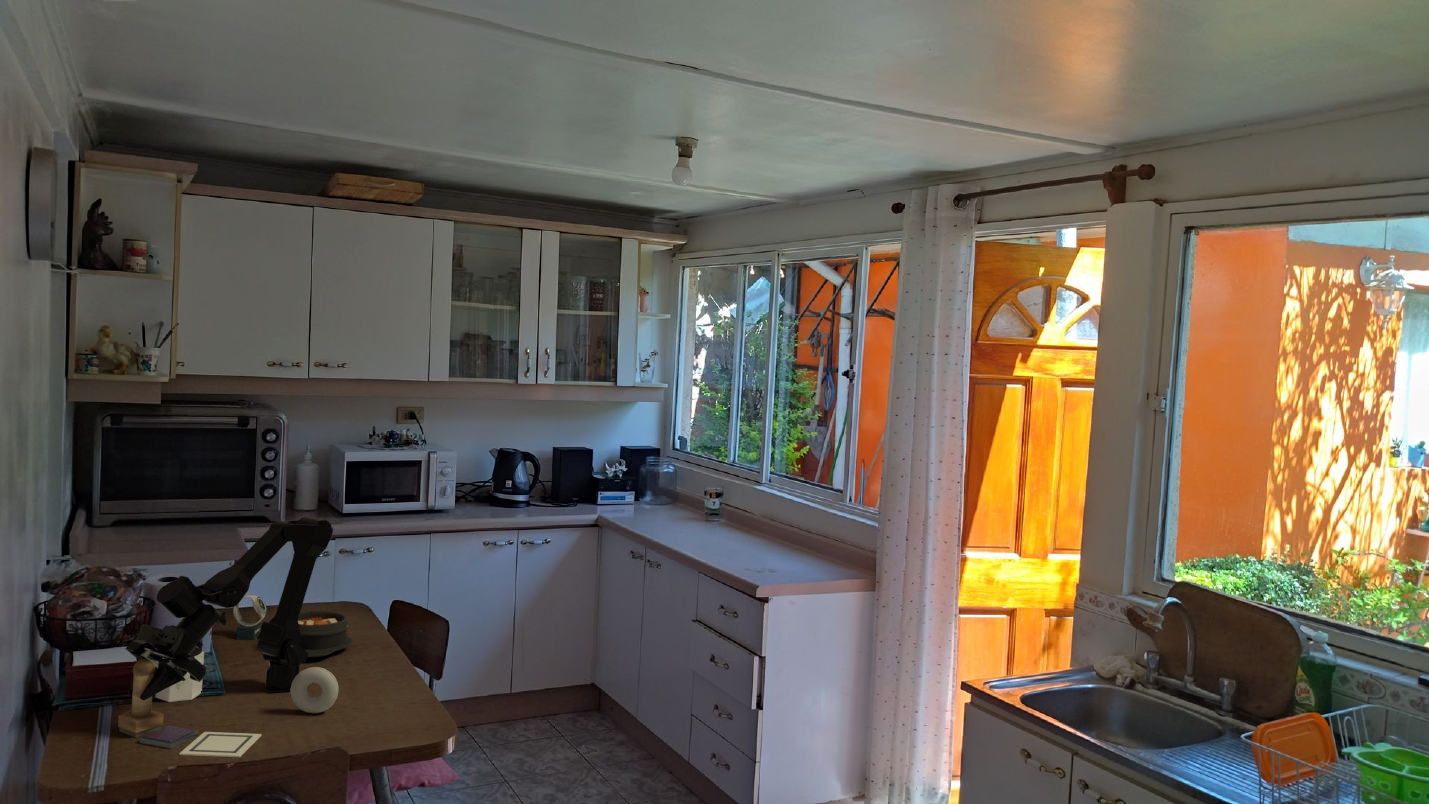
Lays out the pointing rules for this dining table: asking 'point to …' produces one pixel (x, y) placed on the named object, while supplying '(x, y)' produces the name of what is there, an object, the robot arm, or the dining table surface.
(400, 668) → the dining table surface
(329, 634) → the casserole
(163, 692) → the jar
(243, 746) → the print card
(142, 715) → the stamp
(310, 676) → the donut
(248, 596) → the watch
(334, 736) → the dining table surface
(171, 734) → the ink pad
